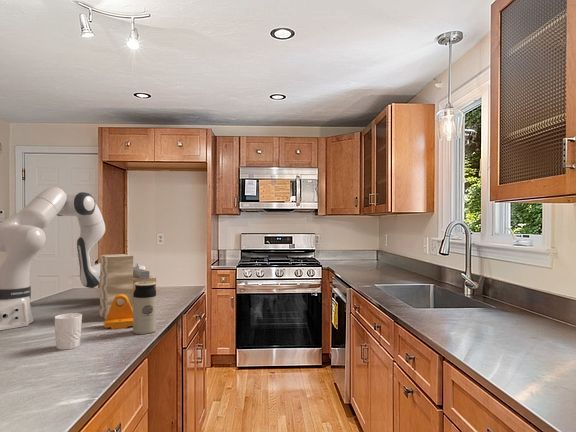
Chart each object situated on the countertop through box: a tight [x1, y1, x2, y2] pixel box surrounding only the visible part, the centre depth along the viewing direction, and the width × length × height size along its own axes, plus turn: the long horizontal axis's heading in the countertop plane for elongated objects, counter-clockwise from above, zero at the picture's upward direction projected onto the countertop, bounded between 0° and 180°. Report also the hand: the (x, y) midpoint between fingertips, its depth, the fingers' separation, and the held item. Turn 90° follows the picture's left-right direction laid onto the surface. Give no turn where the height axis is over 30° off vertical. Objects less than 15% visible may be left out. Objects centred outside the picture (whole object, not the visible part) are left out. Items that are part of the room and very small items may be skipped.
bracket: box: [103, 294, 133, 330], centre depth 159 cm, size 11×7×12 cm, turn 108°
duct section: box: [133, 267, 150, 279], centre depth 185 cm, size 20×4×3 cm, turn 39°
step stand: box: [99, 253, 157, 320], centre depth 179 cm, size 12×20×26 cm, turn 129°
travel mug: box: [132, 282, 157, 335], centre depth 152 cm, size 8×8×18 cm
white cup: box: [54, 312, 83, 351], centre depth 133 cm, size 8×8×10 cm
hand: (128, 265), depth 195 cm, fingers open, 8 cm apart
